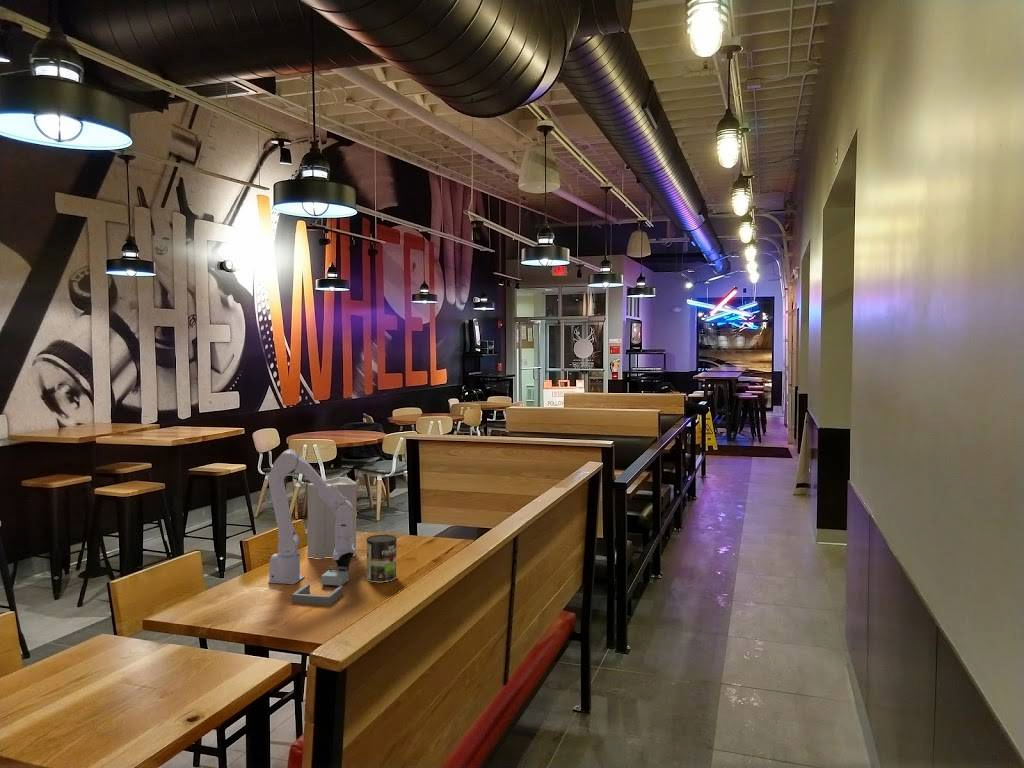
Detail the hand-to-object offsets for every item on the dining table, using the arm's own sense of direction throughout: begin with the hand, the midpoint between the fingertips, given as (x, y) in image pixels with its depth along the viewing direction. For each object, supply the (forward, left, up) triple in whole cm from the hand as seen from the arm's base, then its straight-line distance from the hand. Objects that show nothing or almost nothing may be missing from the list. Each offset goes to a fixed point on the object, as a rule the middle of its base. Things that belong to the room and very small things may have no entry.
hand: (343, 574), depth 238 cm
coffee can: (+13, +2, -1) cm, 13 cm away
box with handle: (0, -7, -1) cm, 7 cm away
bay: (0, -20, -1) cm, 20 cm away
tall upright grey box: (-13, +27, -1) cm, 30 cm away
